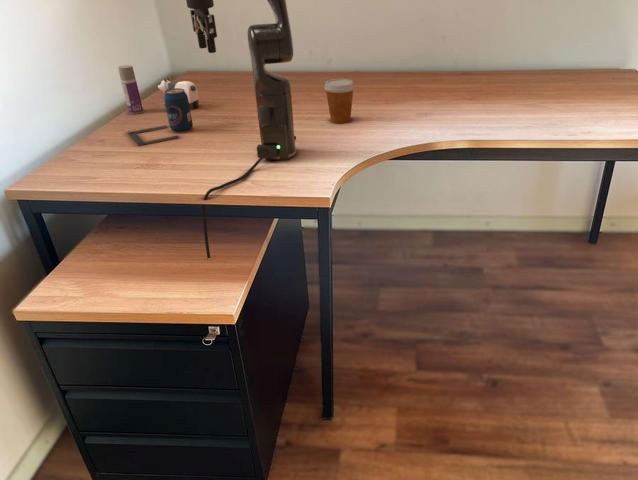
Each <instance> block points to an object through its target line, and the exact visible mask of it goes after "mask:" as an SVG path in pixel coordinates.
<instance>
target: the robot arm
mask: <svg viewBox="0 0 638 480" xmlns="http://www.w3.org/2000/svg"><path fill="white" fill-rule="evenodd" d="M185 1H186V7H187V8H188V9H190V10H189V12H190V18H191V25H192V30H193V32H195V35H196V37H197V43H198V48H199V49H201V50H202V49H207V52H208V54H215V53H217V47H216V43H215V42H216V41H215V39H216V38H218V33H217V26H216V20H215V15H214V14H210V11H209V9H212V8H213V7H214V6H215V4H214V0H185ZM266 1H267V3H268V5H269V6H270V9H271V11H272V14H273V16H274V20H275V22H273V23H259V24H251V25H249V26H248V29H247V32H246V33H247V37H246V38H247V45H248V51H249V55H250V56H249V58H250V63H251V70H252V76H253V77H252V78H253V84H254V94H255V102H256V103H255V104H256V112H257V119H258V127H259V129H258V130H259V136H260V144H257V146H256V155H257V160H256V162H255V163H253V165H252V166H251V167H250V168H249V169H248V170H247V171H246V172H245V173H244V174H243V175H241V176H239V177H238V178H235V179H232V180H230V181H228V182H227V181H226V183H223V184H221V185H218V186H215V187H212V188H210V189H208V191H206V193H205V195H204V196H203V198H202V201H207V200H208V198H209V195H210V194H211V193H213V192H215V191H218V190H221V189H223V188H226V187H228V186H230V185H234V184H236V183H238V182H240V181H242V180H243V179H245V178H246V177H248V176H249V175H250V174H251V172H252V171H253V170H254V169H256V167H257V166H258V165H259V164H260V163H261V161H262V160H264V159H265V160H266V161H268V160H269V161H282V160H283V161H287V160H289V159H290V158H292V157H294V156H296V155H297V148H296V141H297V136H296V134H295V125H294V111H293V102H292V89H291V88H292V87H291V81H290V79H289V78H288V77H286V76H283V75H280V74H277V73H274V72H271V71H269V70H268V69H266V65H273V64H285V63H290V62H292V60H293V57H294V42H293V35H292V29H291V23H290V18H289V12H288V6H287V0H266ZM201 209H202V221H203V234H204V244H205V251H206V257H207V259H208V258H211V252H210V245H209V236H208V224H207V222H208V221H207V210H206V209H207V208H206V205H202V207H201Z"/></svg>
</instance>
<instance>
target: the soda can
mask: <svg viewBox="0 0 638 480" xmlns="http://www.w3.org/2000/svg"><path fill="white" fill-rule="evenodd" d="M163 101H164V105H165V112H166V117H167V120H168V125H169V129H170V130H171V131H172V132H173V133H176V134H184V133H188V132H190V131H192V129H193V125H194V123H193V118H192V114H191V113H192V112H191V110H190V107H189V101H188V96H187V94H186V93H185V91H184V89H180V88H175V89H169V90H166V91H165V93H164V96H163Z"/></svg>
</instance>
